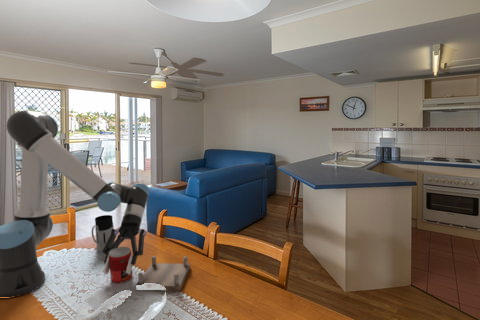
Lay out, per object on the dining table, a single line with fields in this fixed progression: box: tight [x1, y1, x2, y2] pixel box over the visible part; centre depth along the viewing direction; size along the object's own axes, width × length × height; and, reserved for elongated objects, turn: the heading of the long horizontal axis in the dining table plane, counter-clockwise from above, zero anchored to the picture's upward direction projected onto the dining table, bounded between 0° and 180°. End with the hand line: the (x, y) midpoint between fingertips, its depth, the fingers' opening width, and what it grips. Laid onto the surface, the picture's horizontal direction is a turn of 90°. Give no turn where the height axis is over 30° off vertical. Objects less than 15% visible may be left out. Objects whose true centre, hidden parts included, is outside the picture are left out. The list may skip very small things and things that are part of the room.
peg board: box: [135, 255, 191, 293], centre depth 106 cm, size 16×16×6 cm
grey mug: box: [91, 214, 116, 252], centre depth 132 cm, size 9×14×15 cm, turn 176°
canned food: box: [109, 246, 133, 284], centre depth 107 cm, size 8×8×11 cm
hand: (116, 273), depth 104 cm, fingers closed on canned food, 8 cm apart
